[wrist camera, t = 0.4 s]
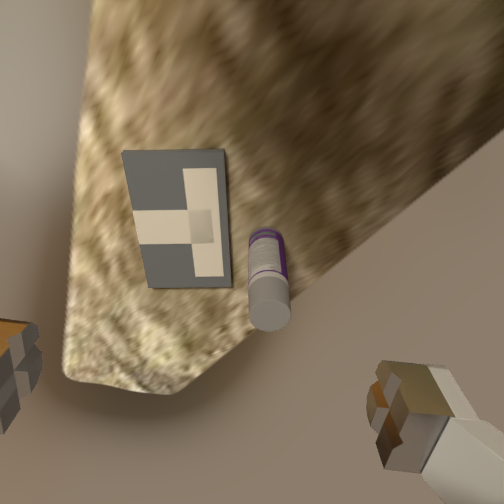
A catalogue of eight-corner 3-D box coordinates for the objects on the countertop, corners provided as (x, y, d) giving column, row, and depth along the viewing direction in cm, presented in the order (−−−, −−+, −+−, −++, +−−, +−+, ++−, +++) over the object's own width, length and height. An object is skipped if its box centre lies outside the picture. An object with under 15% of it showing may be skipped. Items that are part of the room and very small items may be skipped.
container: (281, 256, 55) (290, 333, 43) (248, 255, 55) (246, 331, 43) (284, 227, 53) (294, 299, 40) (249, 225, 53) (248, 298, 40)
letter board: (123, 150, 47) (120, 153, 46) (224, 148, 47) (223, 151, 46) (149, 283, 58) (148, 288, 57) (231, 282, 58) (231, 287, 57)
